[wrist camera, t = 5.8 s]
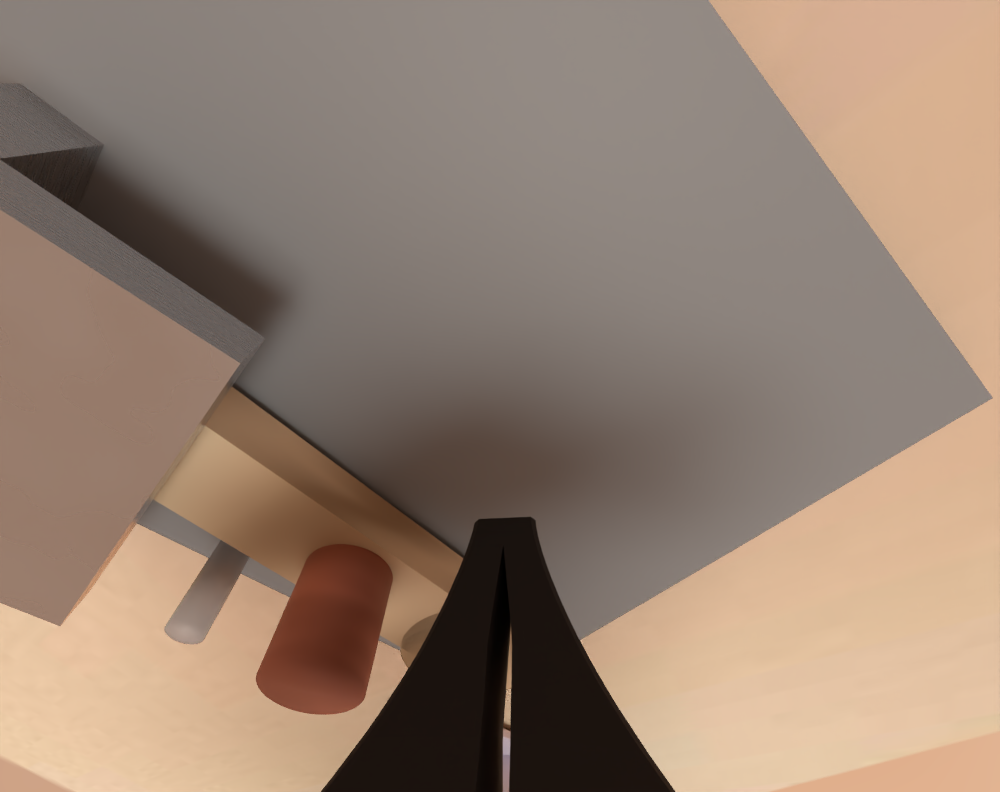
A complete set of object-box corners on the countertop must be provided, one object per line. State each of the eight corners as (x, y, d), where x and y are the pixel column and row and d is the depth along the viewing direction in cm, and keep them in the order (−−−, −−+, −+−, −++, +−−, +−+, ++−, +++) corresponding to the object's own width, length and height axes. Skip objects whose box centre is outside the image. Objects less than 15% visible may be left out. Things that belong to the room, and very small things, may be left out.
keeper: (163, 503, 16) (60, 625, 12) (-45, 397, 14) (-243, 507, 10) (323, 279, 12) (240, 363, 8) (62, 84, 10) (-202, 79, 6)
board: (489, 668, 21) (485, 782, 17) (-86, 377, 14) (-286, 473, 10) (961, 378, 13) (1121, 479, 10) (204, -652, 6) (-222, -1681, 2)
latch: (571, 616, 17) (590, 771, 13) (473, 664, 18) (463, 815, 15) (151, 290, 11) (-46, 400, 7) (62, 405, 12) (-136, 544, 9)
